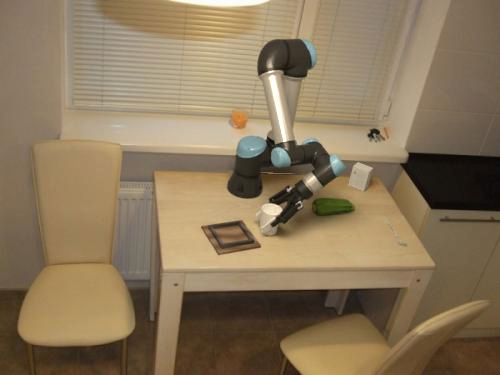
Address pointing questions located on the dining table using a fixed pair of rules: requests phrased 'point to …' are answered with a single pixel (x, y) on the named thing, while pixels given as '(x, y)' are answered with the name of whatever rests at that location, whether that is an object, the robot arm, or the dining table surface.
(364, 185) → the small box
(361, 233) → the dining table surface
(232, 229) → the dock board
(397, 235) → the fork
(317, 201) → the vegetable
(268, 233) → the white cup
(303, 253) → the dining table surface
